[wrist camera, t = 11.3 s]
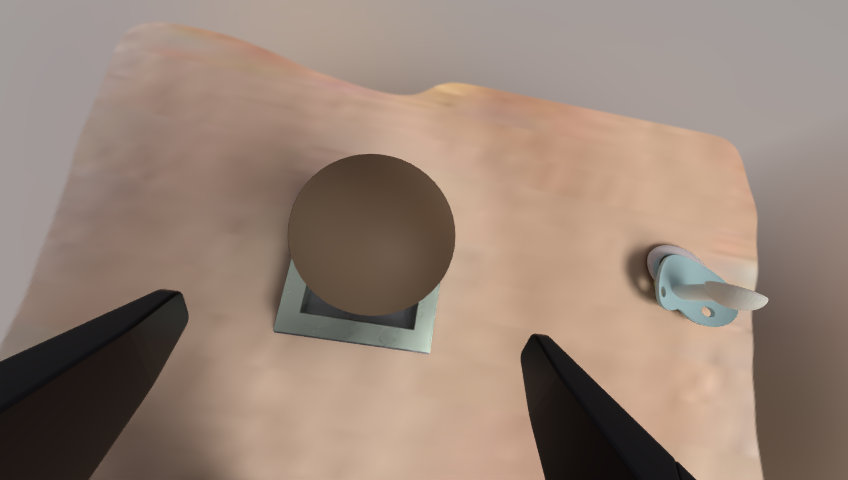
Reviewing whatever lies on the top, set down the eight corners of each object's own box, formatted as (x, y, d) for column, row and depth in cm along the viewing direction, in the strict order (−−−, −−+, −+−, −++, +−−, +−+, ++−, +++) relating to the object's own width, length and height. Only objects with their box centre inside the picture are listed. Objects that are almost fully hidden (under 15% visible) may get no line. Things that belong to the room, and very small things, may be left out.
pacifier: (641, 234, 26) (629, 300, 25) (723, 213, 20) (714, 298, 19) (710, 266, 27) (703, 332, 26) (809, 255, 21) (807, 340, 20)
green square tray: (427, 352, 21) (433, 358, 19) (276, 331, 20) (266, 335, 18) (448, 215, 23) (455, 207, 21) (312, 186, 22) (307, 175, 20)
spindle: (365, 322, 20) (367, 353, 9) (314, 266, 20) (249, 221, 9) (419, 271, 21) (485, 239, 10) (372, 218, 22) (382, 125, 10)
